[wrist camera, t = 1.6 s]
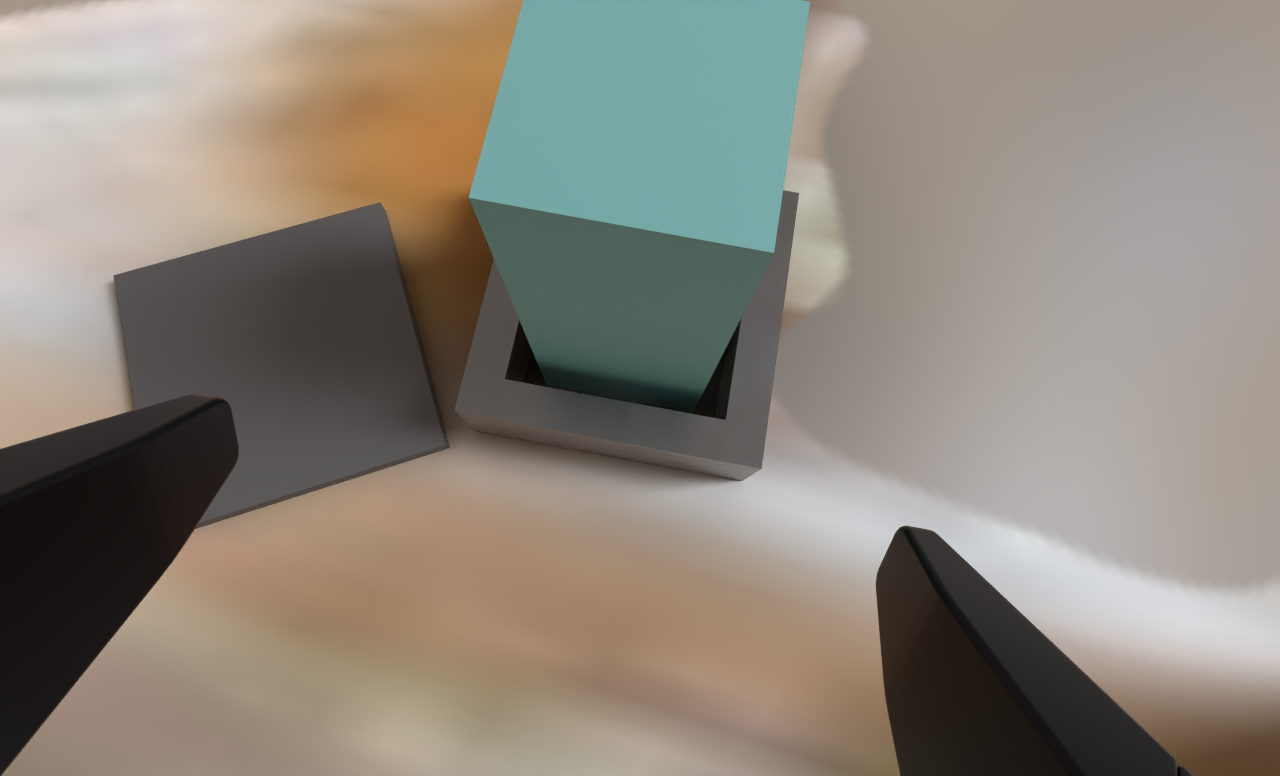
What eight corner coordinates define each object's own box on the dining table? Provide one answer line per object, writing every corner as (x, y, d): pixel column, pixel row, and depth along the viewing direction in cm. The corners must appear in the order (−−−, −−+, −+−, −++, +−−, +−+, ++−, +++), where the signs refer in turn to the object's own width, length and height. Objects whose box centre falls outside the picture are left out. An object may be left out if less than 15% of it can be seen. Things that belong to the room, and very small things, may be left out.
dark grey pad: (167, 537, 21) (154, 536, 20) (126, 282, 23) (113, 275, 22) (449, 447, 22) (444, 444, 21) (385, 211, 24) (379, 202, 23)
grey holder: (742, 480, 22) (761, 468, 19) (475, 431, 22) (453, 411, 19) (776, 237, 24) (798, 193, 21) (535, 194, 24) (523, 143, 21)
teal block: (692, 413, 22) (774, 253, 11) (546, 385, 22) (468, 197, 11) (715, 277, 24) (810, 2, 12) (577, 252, 24) (536, -46, 12)
